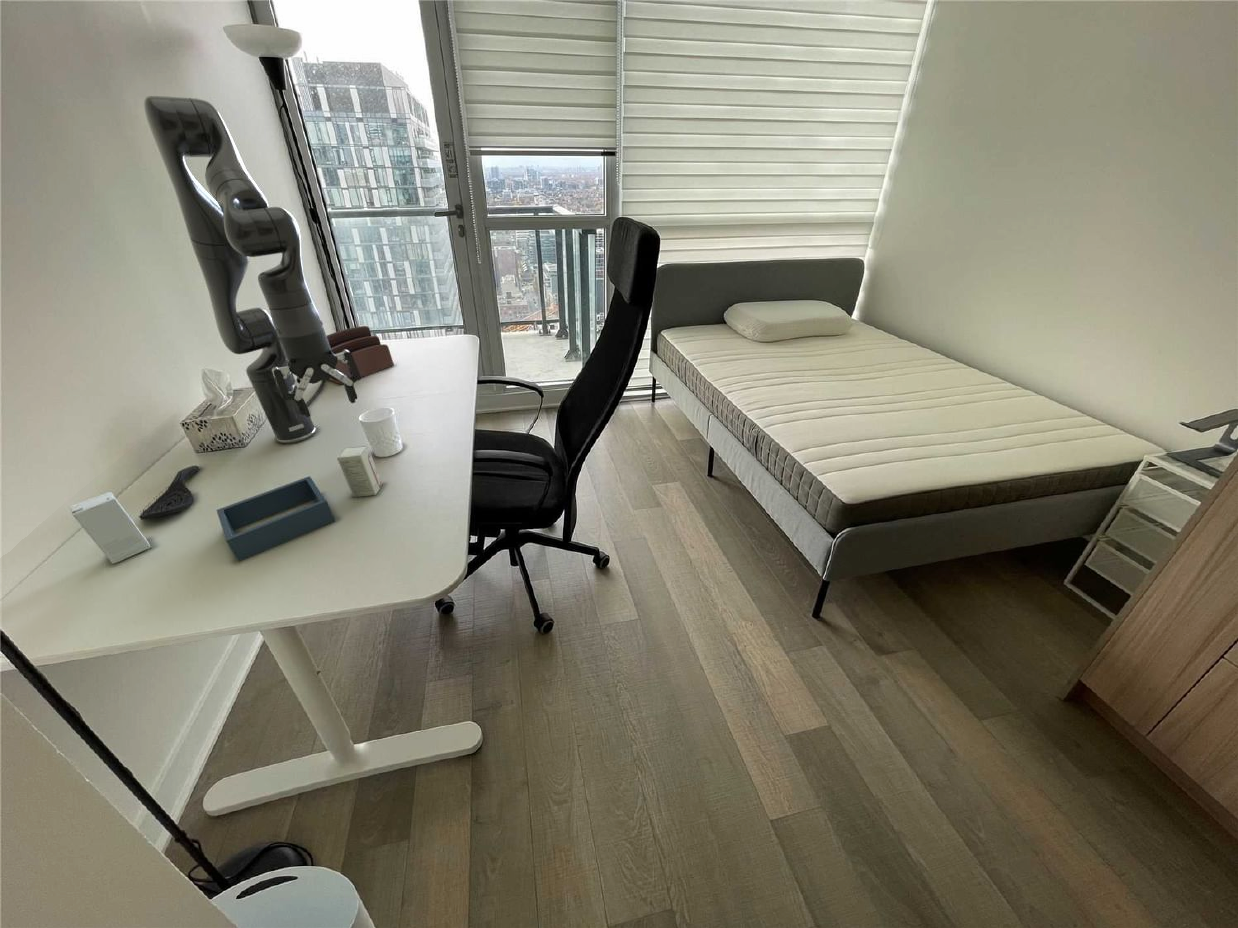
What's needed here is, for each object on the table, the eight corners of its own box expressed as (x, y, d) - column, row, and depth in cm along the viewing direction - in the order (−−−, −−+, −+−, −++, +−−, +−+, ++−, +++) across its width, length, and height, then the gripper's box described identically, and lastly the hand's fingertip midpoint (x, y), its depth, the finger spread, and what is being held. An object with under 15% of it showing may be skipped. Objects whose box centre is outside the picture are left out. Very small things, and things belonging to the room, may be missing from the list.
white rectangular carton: (383, 484, 114) (369, 445, 109) (375, 495, 110) (361, 455, 105) (359, 485, 114) (344, 446, 109) (351, 497, 110) (335, 457, 105)
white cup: (393, 459, 123) (381, 422, 118) (365, 457, 125) (351, 421, 120) (411, 443, 130) (400, 407, 125) (383, 441, 132) (371, 406, 126)
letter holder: (325, 379, 172) (310, 338, 165) (378, 361, 185) (366, 322, 178) (341, 385, 167) (325, 343, 159) (394, 365, 180) (382, 326, 173)
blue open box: (227, 529, 103) (216, 509, 100) (318, 494, 112) (309, 475, 109) (238, 561, 94) (226, 540, 92) (335, 521, 103) (326, 501, 101)
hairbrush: (209, 454, 125) (173, 505, 104) (216, 467, 126) (182, 519, 106) (168, 462, 122) (124, 516, 102) (176, 476, 124) (134, 531, 103)
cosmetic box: (146, 539, 101) (111, 489, 95) (152, 548, 99) (116, 497, 93) (107, 556, 98) (67, 505, 91) (111, 566, 95) (71, 514, 89)
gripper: (335, 316, 100) (360, 392, 109) (252, 334, 93) (287, 414, 101) (346, 324, 95) (372, 403, 104) (260, 343, 88) (296, 426, 96)
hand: (330, 408), depth 103 cm, fingers open, 8 cm apart
